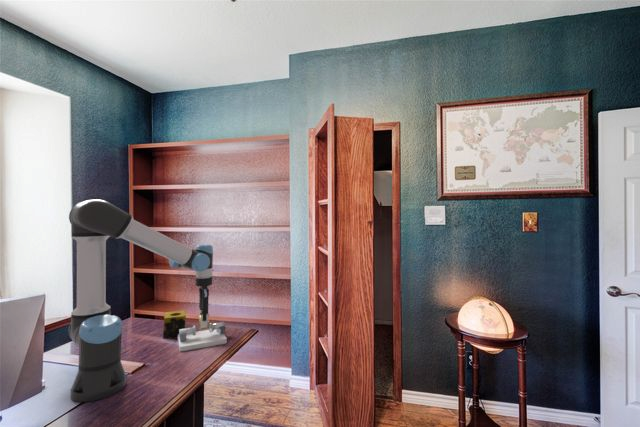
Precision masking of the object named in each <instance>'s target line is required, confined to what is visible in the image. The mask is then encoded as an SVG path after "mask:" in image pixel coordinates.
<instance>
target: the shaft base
mask: <svg viewBox="0 0 640 427" xmlns="http://www.w3.org/2000/svg"><path fill="white" fill-rule="evenodd" d="M227 339H228V338H227V337H226V335H225V334H221V335H220V334H219V333H218V332H216V330H213V332H211V333H210V331H209V329H203V330H199V331H197V326H196V325H193V326H192V327H185V329H179V334H178V336H177V344H178V349H179V352H186V351H191V350H192V351H193V350H196V349H201V348H208V347H212V346H213V347H214V346H217V345H218V346H220V345H225V344H227V343H228V340H227Z"/></svg>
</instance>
